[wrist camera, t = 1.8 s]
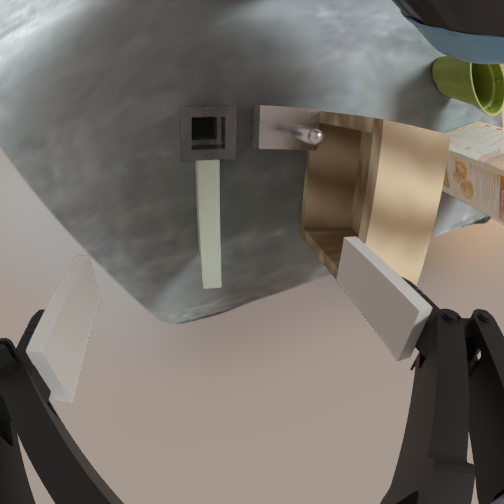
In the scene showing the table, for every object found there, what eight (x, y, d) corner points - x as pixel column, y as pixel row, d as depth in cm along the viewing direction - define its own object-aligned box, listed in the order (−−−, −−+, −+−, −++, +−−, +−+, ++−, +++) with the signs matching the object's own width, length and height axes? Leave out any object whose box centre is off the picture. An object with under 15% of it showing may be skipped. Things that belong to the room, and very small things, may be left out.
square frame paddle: (183, 107, 27) (180, 107, 18) (222, 106, 28) (236, 105, 19) (188, 240, 34) (189, 289, 25) (222, 238, 35) (235, 286, 26)
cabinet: (253, 105, 28) (301, 105, 16) (365, 116, 31) (450, 133, 19) (250, 236, 35) (284, 310, 23) (351, 231, 38) (415, 289, 26)
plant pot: (464, 59, 28) (506, 61, 21) (461, 113, 33) (504, 123, 25) (423, 37, 27) (469, 34, 19) (421, 98, 31) (468, 104, 23)
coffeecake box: (426, 186, 37) (530, 245, 20) (420, 140, 34) (538, 185, 17) (481, 159, 37) (571, 201, 20) (477, 120, 34) (575, 152, 17)
